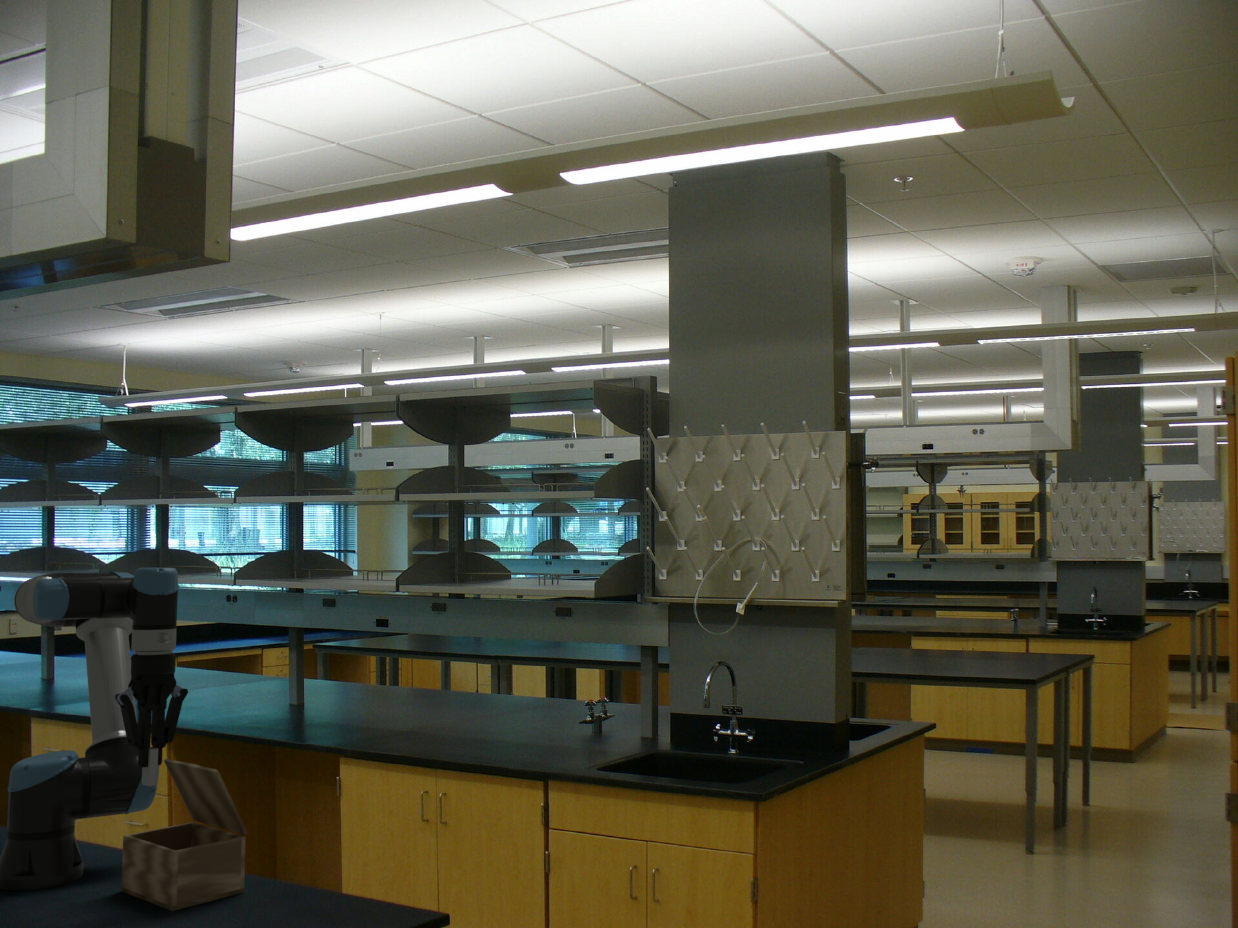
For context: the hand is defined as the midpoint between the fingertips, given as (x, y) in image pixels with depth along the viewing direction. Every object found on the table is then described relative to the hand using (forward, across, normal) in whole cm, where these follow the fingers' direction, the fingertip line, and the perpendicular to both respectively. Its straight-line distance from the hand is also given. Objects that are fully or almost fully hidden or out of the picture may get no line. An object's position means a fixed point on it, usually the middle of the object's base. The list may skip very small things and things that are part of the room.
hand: (149, 784), depth 203 cm
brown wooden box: (+20, +7, 0) cm, 22 cm away
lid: (+4, +11, 0) cm, 12 cm away
